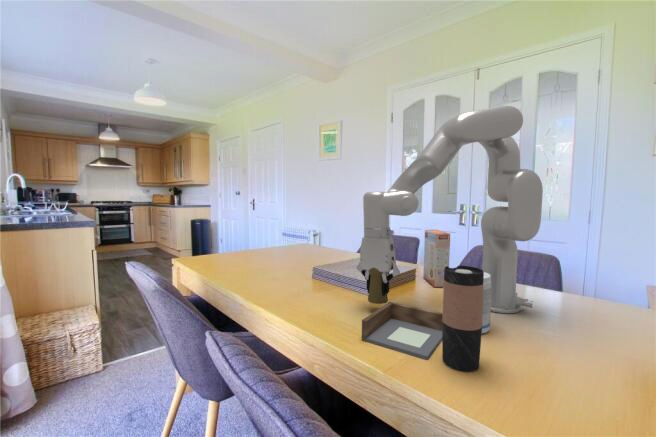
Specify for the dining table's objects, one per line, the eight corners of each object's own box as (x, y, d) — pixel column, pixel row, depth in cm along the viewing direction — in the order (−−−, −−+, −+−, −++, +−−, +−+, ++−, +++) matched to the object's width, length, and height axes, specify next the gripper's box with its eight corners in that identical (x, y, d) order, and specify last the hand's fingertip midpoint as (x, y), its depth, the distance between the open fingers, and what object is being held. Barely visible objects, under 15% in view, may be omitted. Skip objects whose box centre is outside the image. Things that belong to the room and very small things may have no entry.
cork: (387, 304, 92) (387, 267, 91) (367, 303, 93) (366, 266, 92) (388, 297, 98) (387, 262, 97) (368, 296, 99) (367, 262, 98)
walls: (447, 333, 80) (447, 314, 80) (427, 360, 67) (428, 337, 67) (388, 318, 90) (389, 301, 89) (361, 340, 76) (361, 320, 76)
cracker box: (449, 288, 119) (451, 233, 118) (433, 287, 119) (435, 233, 118) (437, 278, 133) (438, 229, 132) (422, 278, 133) (424, 229, 132)
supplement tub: (479, 320, 89) (481, 269, 87) (497, 335, 79) (500, 278, 78) (444, 320, 88) (446, 269, 87) (458, 335, 79) (460, 278, 78)
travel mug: (477, 377, 61) (482, 275, 60) (437, 365, 65) (440, 270, 64) (482, 359, 68) (486, 267, 66) (445, 350, 72) (448, 263, 70)
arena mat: (447, 333, 80) (447, 329, 80) (427, 360, 67) (427, 355, 67) (388, 318, 90) (389, 315, 89) (361, 340, 76) (361, 336, 76)
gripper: (408, 233, 92) (409, 294, 93) (358, 230, 101) (359, 286, 103) (398, 236, 86) (399, 301, 87) (346, 233, 95) (347, 292, 97)
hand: (377, 292), depth 95 cm, fingers closed on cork, 4 cm apart
